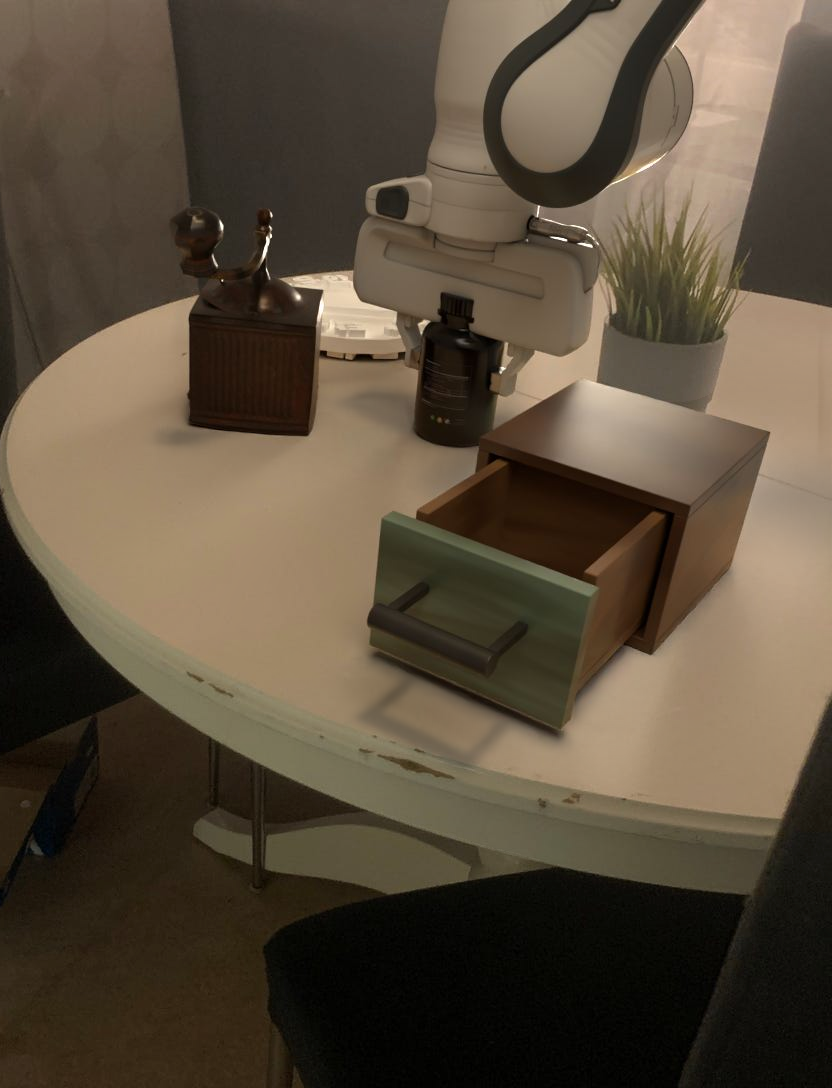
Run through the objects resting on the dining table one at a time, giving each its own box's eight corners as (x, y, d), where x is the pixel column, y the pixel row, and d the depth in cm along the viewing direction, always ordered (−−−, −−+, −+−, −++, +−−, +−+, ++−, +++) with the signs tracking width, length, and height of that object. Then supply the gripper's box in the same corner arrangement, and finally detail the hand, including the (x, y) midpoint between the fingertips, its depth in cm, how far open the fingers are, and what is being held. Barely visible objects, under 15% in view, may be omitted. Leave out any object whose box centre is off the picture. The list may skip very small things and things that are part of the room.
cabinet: (651, 655, 68) (691, 505, 62) (459, 579, 74) (479, 436, 68) (731, 566, 78) (770, 431, 73) (556, 506, 84) (581, 377, 79)
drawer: (517, 776, 56) (545, 638, 51) (318, 682, 61) (327, 549, 57) (656, 627, 69) (688, 505, 64) (482, 560, 74) (500, 444, 70)
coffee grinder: (198, 381, 101) (197, 168, 91) (320, 391, 101) (333, 180, 91) (166, 451, 88) (162, 211, 78) (307, 462, 88) (320, 225, 78)
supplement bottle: (430, 410, 99) (446, 273, 92) (503, 428, 96) (525, 289, 90) (398, 435, 93) (413, 291, 87) (474, 455, 91) (496, 309, 85)
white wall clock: (296, 290, 126) (298, 263, 125) (464, 320, 122) (467, 293, 120) (220, 339, 110) (221, 310, 109) (410, 376, 106) (413, 345, 104)
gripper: (623, 226, 82) (588, 403, 90) (392, 176, 91) (378, 341, 99) (587, 239, 78) (553, 425, 85) (348, 186, 87) (336, 358, 95)
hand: (457, 380), depth 92 cm, fingers closed on supplement bottle, 7 cm apart
